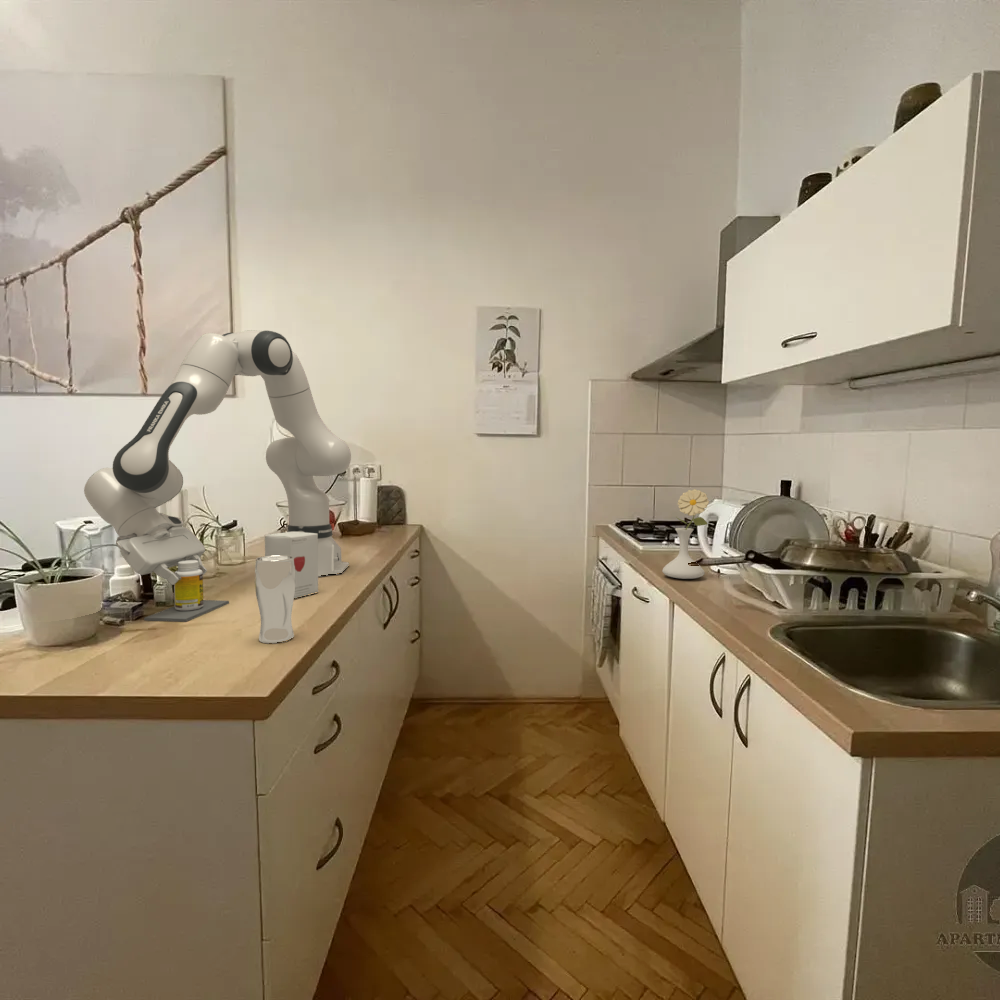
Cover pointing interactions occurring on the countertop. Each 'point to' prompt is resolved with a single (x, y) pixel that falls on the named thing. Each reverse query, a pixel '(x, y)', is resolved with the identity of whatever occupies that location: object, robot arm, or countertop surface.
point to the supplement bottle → (189, 586)
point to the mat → (185, 612)
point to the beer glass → (275, 596)
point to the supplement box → (297, 557)
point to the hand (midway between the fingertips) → (190, 577)
